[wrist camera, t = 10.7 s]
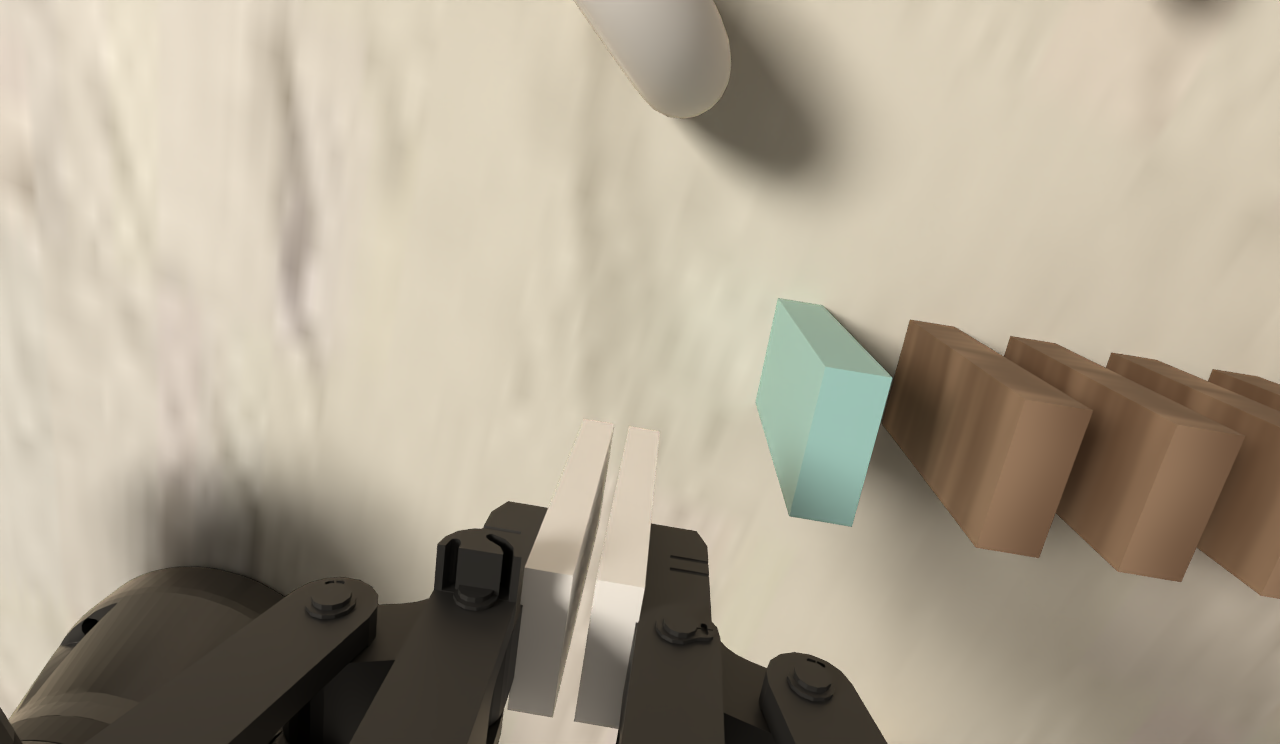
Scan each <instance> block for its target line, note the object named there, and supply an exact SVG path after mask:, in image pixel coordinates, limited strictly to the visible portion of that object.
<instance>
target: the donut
mask: <svg viewBox="0 0 1280 744" xmlns="http://www.w3.org/2000/svg"><path fill="white" fill-rule="evenodd" d="M574 2H575V3H576V4H577V6H578V7H579V9H580V10H581V12H582V13H583V15H584V16H585V18H586V19H587V20H588V22H589V23H590V25H591V26H592V28H593V29H594V31H595V32H596V34H597V35H598V36H599V38H600V39H601V41H602V42H603V44H604V45H605V46H606V48H607V49H608V51H609V52H610V54H611V55H612V57H613V58H614V59H615V61H616V62H617V64H618V65H619V66H620V68H621V69H622V71H623V72H624V73H625V75H626V76H627V78H628V79H629V80H630V82H631V83H632V84H633V86H634V87H635V89H636V90H637V91H638V93H639V94H640V95H641V96H642V98H643V99H644V100H645V101H646V102H647V103H648V104H649V105H650V106H651V107H652V108H653V109H654V110H656V111H658V112H660V113H662V114H664V115H666V116H667V117H673V118H680V119H685V118H690V117H696V116H698V115H700V114H702V113H704V112H706V111H708V110H709V109H711V108H712V107H713V106H714V105H715V104H716V103H717V101H718V100H719V99H720V98H721V97H722V95H723V93H724V91H725V89H726V87H727V85H728V83H729V77H730V71H731V53H730V45H729V39H728V36H727V33H726V30H725V27H724V24H723V21H722V18H721V16H720V14H719V12H718V10H717V7H716V5H715V3H714V1H713V0H574Z"/></svg>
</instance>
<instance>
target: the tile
mask: <svg viewBox="0 0 1280 744" xmlns="http://www.w3.org/2000/svg"><path fill="white" fill-rule="evenodd" d="M891 382H892V377H891V376H890V375H889V374H888V373H887V372H886V371H885V369H884V368H883V367H882V366H881V365H880V364H879V363H878V362H877V361H876V360H875V359H874V358H873V357H872V356H871V355H870V354H869V353H868V352H867V351H866V350H865V349H864V348H863V347H862V346H861V345H860V344H859V343H858V342H857V341H856V340H855V339H854V338H853V336H852V335H851V334H850V333H849V332H848V331H847V330H846V329H845V328H844V327H843V326H842V325H841V324H840V323H839V322H838V321H837V320H836V319H835V318H834V317H833V316H832V315H831V314H830V313H829V312H828V311H827V310H826V309H825V308H824V307H823V306H822V305H817V304H811V303H804V302H798V301H792V300H786V299H780V298H778V301H777V305H776V310H775V315H774V319H773V324H772V329H771V333H770V338H769V343H768V347H767V352H766V357H765V361H764V366H763V371H762V375H761V380H760V385H759V389H758V394H757V398H756V405H757V409H758V412H759V416H760V419H761V422H762V426H763V429H764V433H765V436H766V439H767V443H768V446H769V449H770V453H771V456H772V460H773V463H774V466H775V470H776V473H777V477H778V480H779V483H780V487H781V490H782V493H783V497H784V500H785V504H786V507H787V510H788V514H789V516H791V517H797V518H803V519H809V520H815V521H821V522H827V523H833V524H839V525H844V526H850V527H852V524H853V521H854V517H855V513H856V510H857V506H858V502H859V499H860V495H861V491H862V488H863V484H864V480H865V477H866V473H867V469H868V466H869V462H870V458H871V455H872V451H873V447H874V444H875V440H876V436H877V433H878V429H879V425H880V422H881V418H882V414H883V411H884V407H885V404H886V400H887V396H888V393H889V389H890V385H891Z"/></svg>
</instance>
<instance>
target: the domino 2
mask: <svg viewBox="0 0 1280 744" xmlns="http://www.w3.org/2000/svg"><path fill="white" fill-rule="evenodd" d="M1004 357H1005V358H1007V359H1009V360H1010V361H1012V362H1013V363H1015V364H1017V365H1018V366H1020V367H1022V368H1023V369H1025V370H1027V371H1028V372H1030V373H1032V374H1033V375H1035V376H1037V377H1038V378H1040V379H1042V380H1043V381H1045V382H1047V383H1048V384H1050V385H1052V386H1053V387H1055V388H1057V389H1058V390H1060V391H1061V392H1063V393H1065V394H1066V395H1068V396H1070V397H1071V398H1073V399H1075V400H1076V401H1078V402H1080V403H1081V404H1083V405H1085V406H1086V407H1088V408H1090V409H1091V410H1093V412H1092V415H1091V418H1090V420H1089V423H1088V426H1087V429H1086V431H1085V434H1084V437H1083V439H1082V442H1081V445H1080V448H1079V450H1078V453H1077V456H1076V458H1075V461H1074V464H1073V467H1072V469H1071V472H1070V475H1069V478H1068V480H1067V483H1066V486H1065V488H1064V491H1063V494H1062V497H1061V499H1060V502H1059V505H1058V507H1057V510H1056V514H1057V515H1058V516H1059V517H1060V518H1062V519H1063V520H1064V521H1065V522H1066V523H1067V524H1068V525H1069V526H1070V527H1071V528H1072V529H1073V530H1074V531H1075V532H1076V533H1077V534H1078V535H1080V536H1081V537H1082V538H1083V539H1084V540H1085V541H1086V542H1087V543H1088V544H1089V545H1090V546H1091V547H1092V548H1093V549H1094V550H1095V551H1096V552H1098V553H1099V554H1100V555H1101V556H1102V557H1103V558H1104V559H1105V560H1106V561H1107V562H1108V563H1109V564H1110V565H1111V566H1112V567H1113V568H1115V569H1116V570H1117V571H1118V572H1124V573H1130V574H1136V575H1142V576H1148V577H1154V578H1160V579H1165V580H1171V581H1177V582H1181V581H1182V579H1183V577H1184V574H1185V572H1186V570H1187V568H1188V565H1189V563H1190V561H1191V559H1192V556H1193V554H1194V552H1195V550H1196V547H1197V545H1198V543H1199V541H1200V538H1201V536H1202V534H1203V531H1204V529H1205V527H1206V525H1207V522H1208V520H1209V518H1210V516H1211V513H1212V511H1213V509H1214V507H1215V504H1216V502H1217V500H1218V498H1219V495H1220V493H1221V491H1222V488H1223V486H1224V484H1225V482H1226V479H1227V477H1228V475H1229V473H1230V470H1231V468H1232V466H1233V464H1234V461H1235V459H1236V457H1237V455H1238V452H1239V450H1240V448H1241V445H1242V443H1243V441H1244V439H1245V435H1243V434H1240V433H1238V432H1236V431H1234V430H1232V429H1230V428H1228V427H1226V426H1224V425H1222V424H1220V423H1218V422H1216V421H1214V420H1212V419H1210V418H1208V417H1206V416H1203V415H1201V414H1199V413H1197V412H1195V411H1193V410H1191V409H1189V408H1187V407H1185V406H1183V405H1181V404H1179V403H1177V402H1175V401H1173V400H1171V399H1169V398H1166V397H1164V396H1162V395H1160V394H1158V393H1156V392H1154V391H1152V390H1150V389H1148V388H1146V387H1144V386H1142V385H1140V384H1138V383H1136V382H1134V381H1132V380H1129V379H1127V378H1125V377H1123V376H1121V375H1119V374H1117V373H1115V372H1113V371H1111V370H1109V369H1107V368H1105V367H1103V366H1101V365H1099V364H1097V363H1095V362H1093V361H1090V360H1088V359H1086V358H1084V357H1082V356H1080V355H1078V354H1076V353H1074V352H1072V351H1070V350H1068V349H1066V348H1064V347H1062V346H1060V345H1058V344H1056V343H1050V342H1044V341H1037V340H1031V339H1025V338H1019V337H1013V336H1010V339H1009V343H1008V346H1007V349H1006V352H1005V355H1004Z"/></svg>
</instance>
